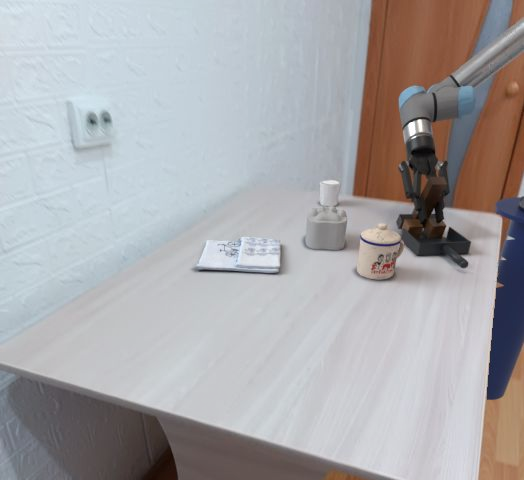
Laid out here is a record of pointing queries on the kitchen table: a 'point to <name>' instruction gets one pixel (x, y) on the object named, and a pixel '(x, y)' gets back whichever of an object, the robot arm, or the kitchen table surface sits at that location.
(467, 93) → the robot arm
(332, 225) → the grey rounded block
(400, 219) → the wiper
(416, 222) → the brown cube
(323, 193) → the white cup
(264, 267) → the folded kitchen towel
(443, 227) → the crumb
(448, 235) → the dustpan
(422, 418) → the kitchen table surface
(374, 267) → the teacup with lid
